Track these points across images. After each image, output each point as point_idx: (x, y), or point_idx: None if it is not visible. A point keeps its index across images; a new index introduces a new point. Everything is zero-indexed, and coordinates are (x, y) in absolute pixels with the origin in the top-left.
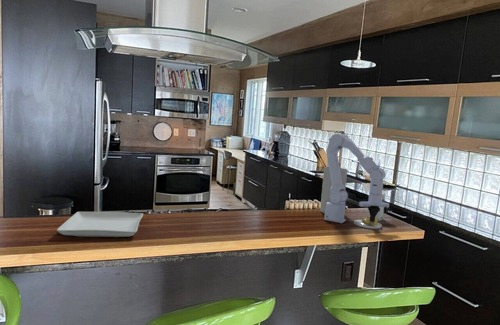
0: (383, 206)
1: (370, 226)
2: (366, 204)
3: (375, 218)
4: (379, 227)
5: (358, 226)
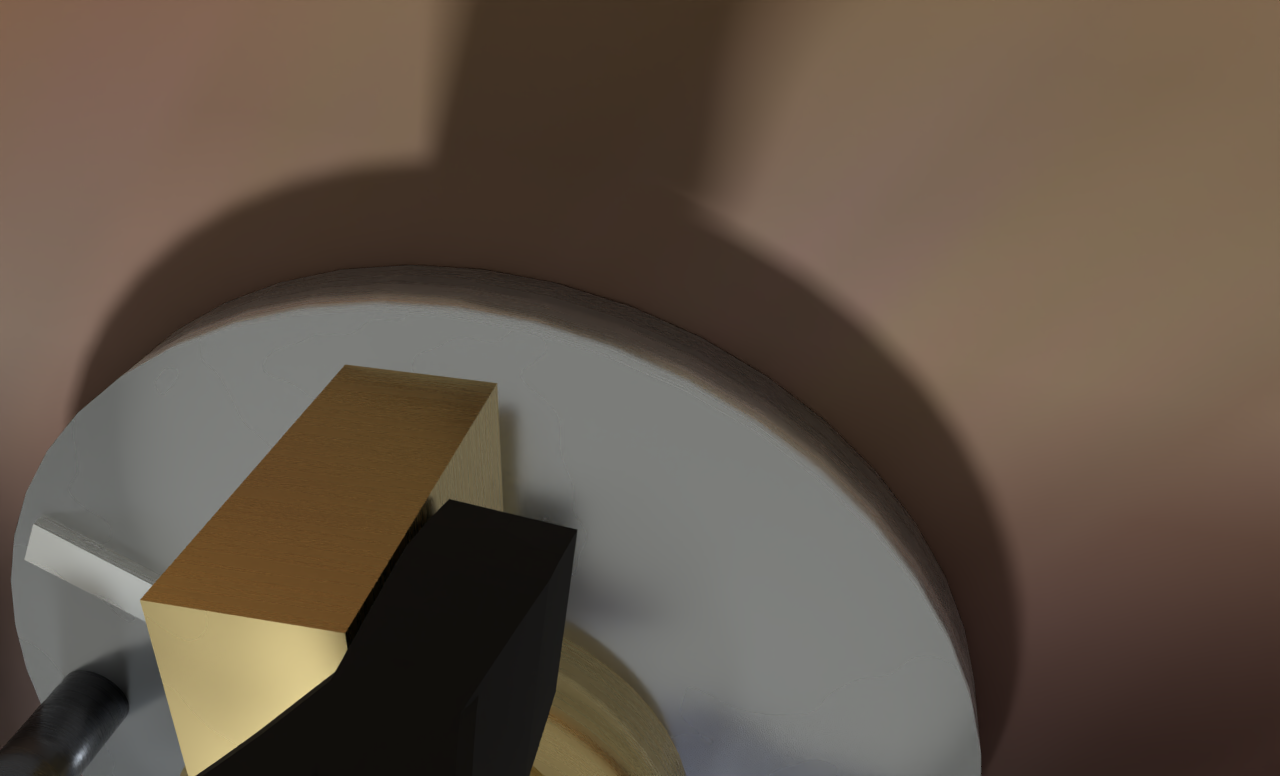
0: None
1: (688, 409)
2: None
3: (326, 615)
4: (258, 308)
5: (973, 680)
